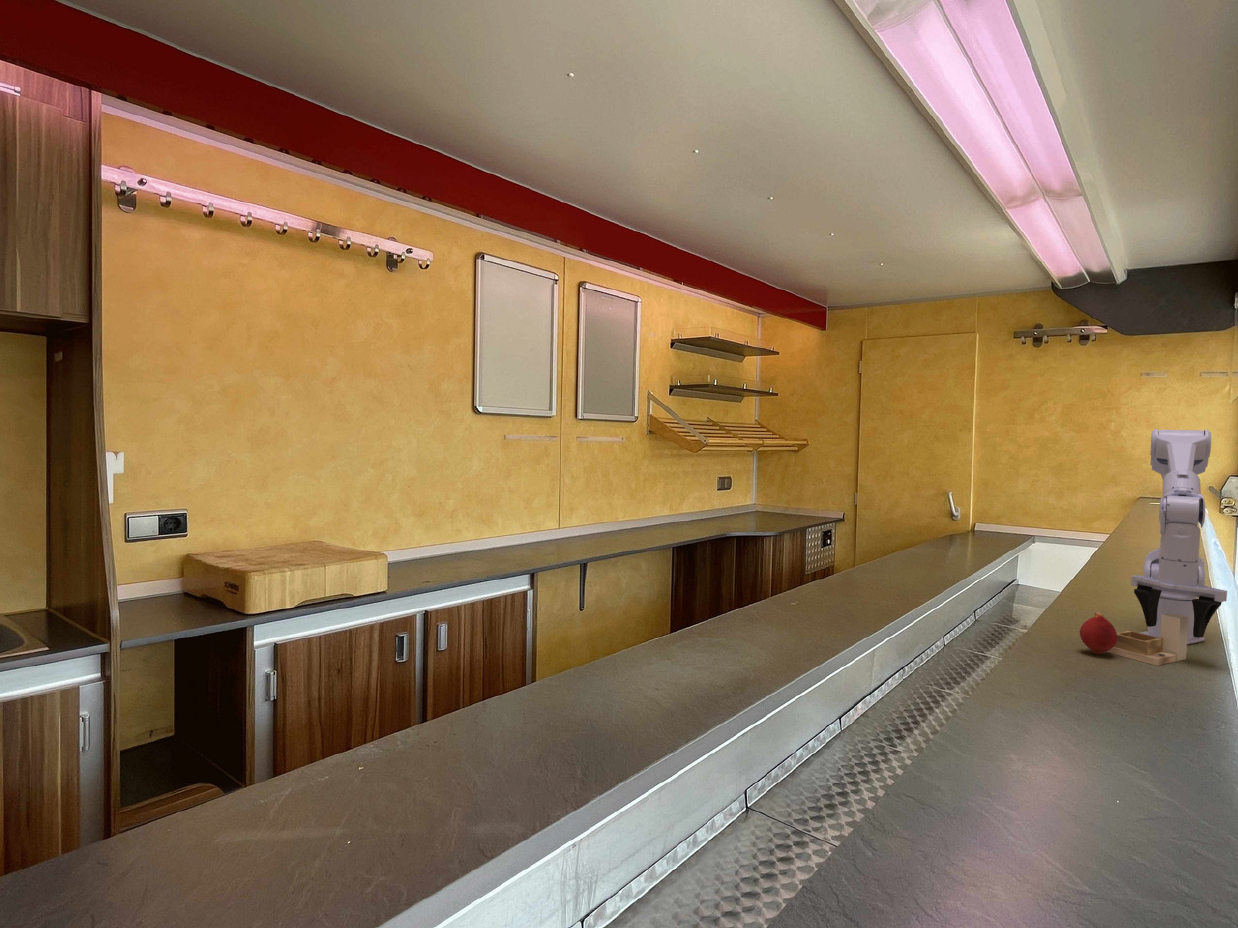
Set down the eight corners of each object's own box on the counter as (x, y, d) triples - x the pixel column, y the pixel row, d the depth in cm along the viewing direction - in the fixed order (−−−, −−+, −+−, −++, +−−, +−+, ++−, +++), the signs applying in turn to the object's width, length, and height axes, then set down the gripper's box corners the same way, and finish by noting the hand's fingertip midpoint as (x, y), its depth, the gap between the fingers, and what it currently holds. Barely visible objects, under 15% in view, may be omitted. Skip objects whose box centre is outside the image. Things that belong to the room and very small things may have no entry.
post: (1167, 654, 133) (1170, 613, 133) (1185, 659, 130) (1188, 616, 130) (1159, 656, 132) (1161, 614, 131) (1177, 661, 129) (1180, 618, 129)
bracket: (1117, 645, 138) (1118, 627, 138) (1176, 661, 129) (1177, 641, 129) (1098, 649, 135) (1099, 630, 135) (1157, 665, 126) (1158, 645, 126)
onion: (1104, 650, 135) (1107, 609, 134) (1123, 659, 129) (1125, 617, 129) (1072, 648, 135) (1075, 607, 135) (1089, 658, 129) (1092, 615, 129)
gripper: (1124, 554, 135) (1120, 623, 135) (1214, 567, 122) (1209, 644, 122) (1144, 552, 138) (1140, 619, 139) (1234, 565, 125) (1229, 640, 126)
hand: (1174, 631), depth 131 cm, fingers open, 7 cm apart
